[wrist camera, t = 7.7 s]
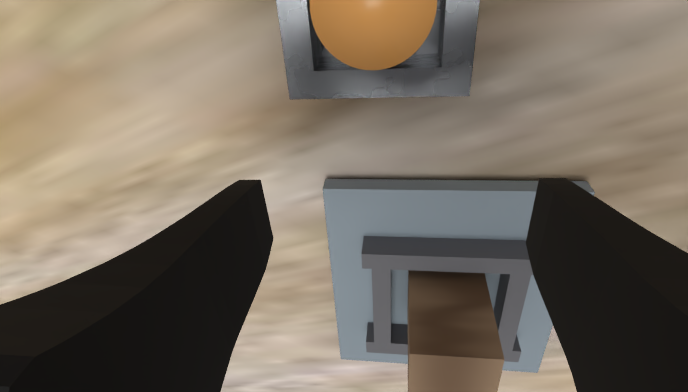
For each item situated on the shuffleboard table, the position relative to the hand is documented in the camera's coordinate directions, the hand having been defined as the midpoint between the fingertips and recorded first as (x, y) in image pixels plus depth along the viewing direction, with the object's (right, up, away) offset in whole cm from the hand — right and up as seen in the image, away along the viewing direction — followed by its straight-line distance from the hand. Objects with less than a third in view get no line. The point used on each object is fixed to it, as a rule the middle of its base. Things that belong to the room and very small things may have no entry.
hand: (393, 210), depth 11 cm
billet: (+4, -5, +13) cm, 15 cm away
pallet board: (+5, -5, +14) cm, 15 cm away
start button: (0, +7, +4) cm, 8 cm away
